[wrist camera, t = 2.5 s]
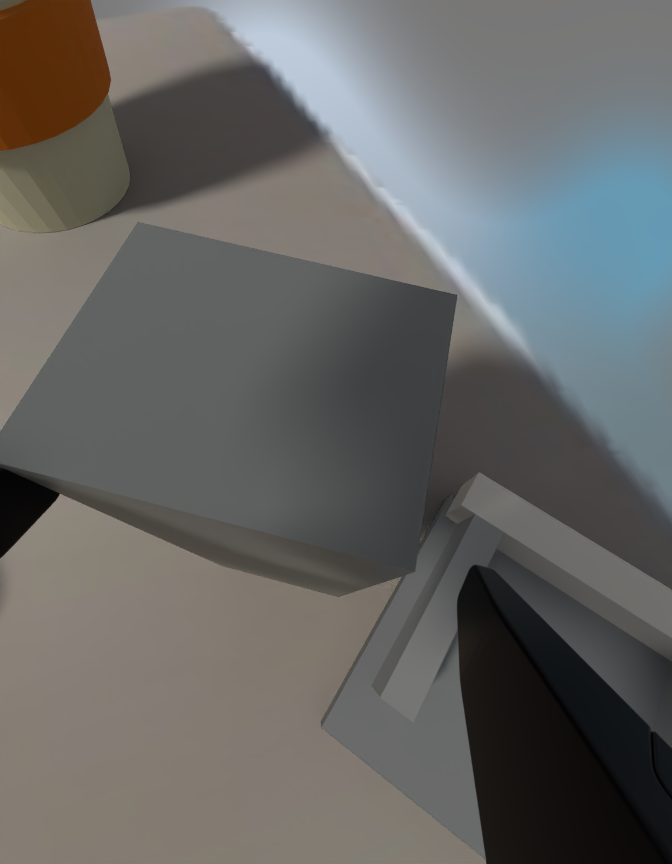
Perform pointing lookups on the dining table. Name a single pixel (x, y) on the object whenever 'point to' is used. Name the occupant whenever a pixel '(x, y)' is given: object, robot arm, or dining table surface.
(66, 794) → the dining table surface
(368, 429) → the block
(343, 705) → the rail plate
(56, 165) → the reusable coffee cup
